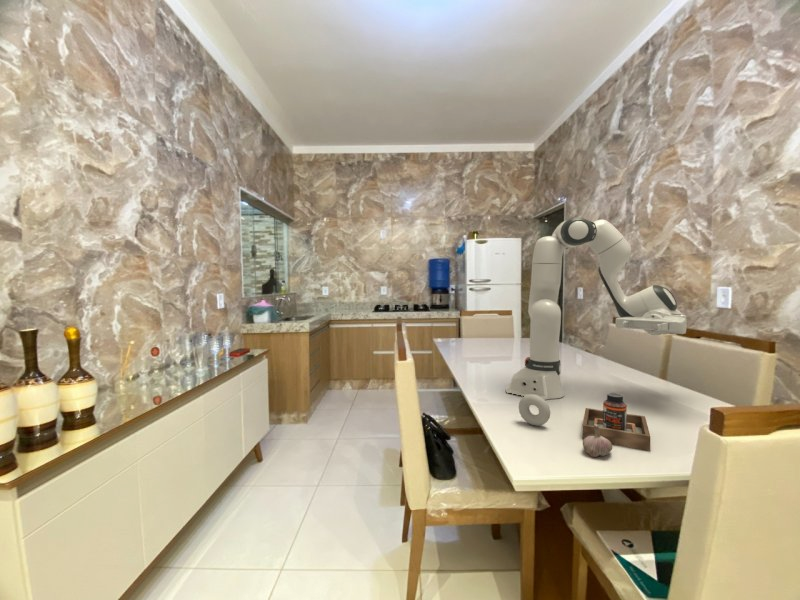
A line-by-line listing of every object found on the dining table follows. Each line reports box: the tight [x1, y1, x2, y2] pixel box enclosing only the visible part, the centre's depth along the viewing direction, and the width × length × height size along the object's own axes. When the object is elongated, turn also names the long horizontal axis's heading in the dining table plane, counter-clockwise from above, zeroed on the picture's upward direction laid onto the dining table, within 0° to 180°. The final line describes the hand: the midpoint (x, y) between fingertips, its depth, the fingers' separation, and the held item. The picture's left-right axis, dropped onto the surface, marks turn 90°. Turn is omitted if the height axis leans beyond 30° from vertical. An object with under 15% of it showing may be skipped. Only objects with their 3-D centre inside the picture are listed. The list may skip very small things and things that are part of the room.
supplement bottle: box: [602, 392, 628, 431], centre depth 103 cm, size 6×6×11 cm
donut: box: [518, 394, 551, 427], centre depth 111 cm, size 10×4×10 cm, turn 48°
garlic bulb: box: [582, 424, 613, 458], centre depth 92 cm, size 8×7×8 cm
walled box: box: [582, 407, 651, 452], centre depth 103 cm, size 16×16×4 cm
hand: (640, 326), depth 117 cm, fingers open, 8 cm apart
